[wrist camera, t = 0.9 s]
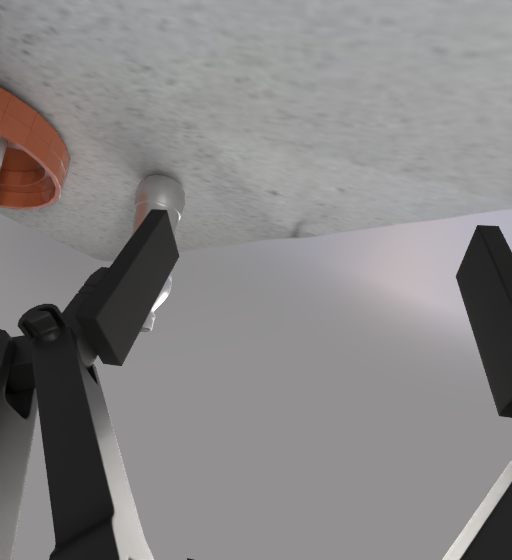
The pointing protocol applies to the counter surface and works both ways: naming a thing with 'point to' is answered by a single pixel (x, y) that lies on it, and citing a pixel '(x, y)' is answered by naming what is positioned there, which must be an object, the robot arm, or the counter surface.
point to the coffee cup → (2, 149)
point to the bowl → (29, 157)
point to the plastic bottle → (164, 197)
